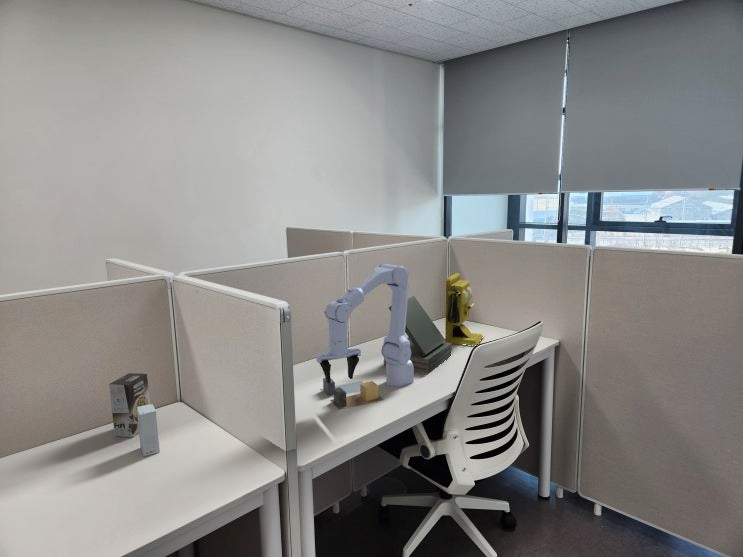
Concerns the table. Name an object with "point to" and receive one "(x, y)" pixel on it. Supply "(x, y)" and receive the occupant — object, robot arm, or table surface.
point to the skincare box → (148, 429)
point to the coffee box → (128, 402)
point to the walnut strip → (349, 399)
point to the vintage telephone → (458, 312)
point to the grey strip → (329, 387)
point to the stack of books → (424, 339)
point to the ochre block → (369, 390)
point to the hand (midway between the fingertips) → (339, 380)
